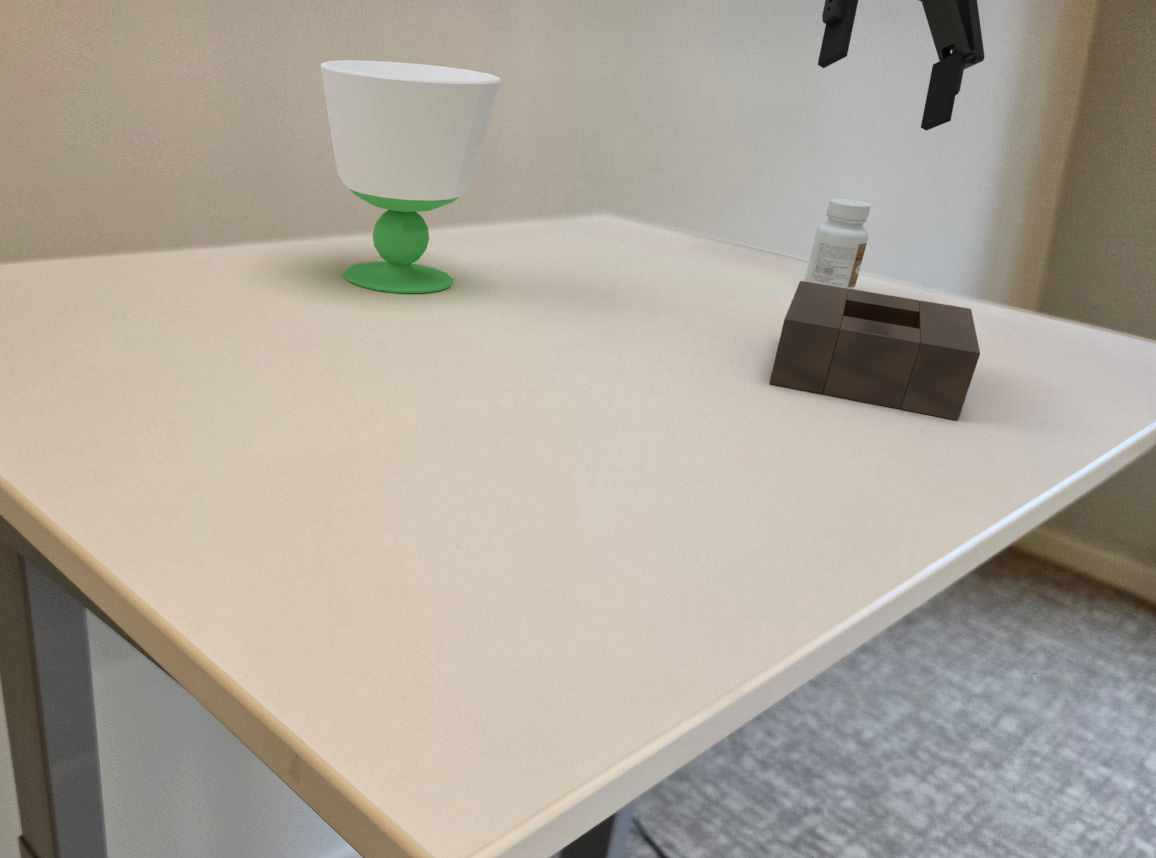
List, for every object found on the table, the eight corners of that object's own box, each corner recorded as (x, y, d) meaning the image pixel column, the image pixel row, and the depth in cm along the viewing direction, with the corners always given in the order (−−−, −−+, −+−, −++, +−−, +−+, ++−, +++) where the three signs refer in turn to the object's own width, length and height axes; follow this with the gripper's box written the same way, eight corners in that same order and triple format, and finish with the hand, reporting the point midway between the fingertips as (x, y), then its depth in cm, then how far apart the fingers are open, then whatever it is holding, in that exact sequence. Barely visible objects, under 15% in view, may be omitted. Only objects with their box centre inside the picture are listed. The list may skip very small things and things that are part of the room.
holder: (952, 369, 79) (971, 308, 77) (958, 420, 69) (980, 352, 67) (785, 338, 82) (800, 280, 80) (768, 384, 72) (784, 318, 70)
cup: (393, 250, 97) (405, 59, 90) (514, 285, 90) (537, 80, 82) (279, 271, 88) (282, 60, 80) (403, 312, 80) (419, 83, 73)
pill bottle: (860, 298, 96) (884, 208, 92) (812, 294, 95) (834, 204, 92) (843, 285, 99) (866, 199, 96) (797, 281, 99) (817, 195, 96)
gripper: (978, -34, 109) (941, 160, 107) (800, -164, 99) (754, 49, 96) (1049, -72, 102) (1010, 135, 100) (865, -216, 92) (818, 12, 90)
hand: (885, 93), depth 98 cm, fingers open, 13 cm apart
